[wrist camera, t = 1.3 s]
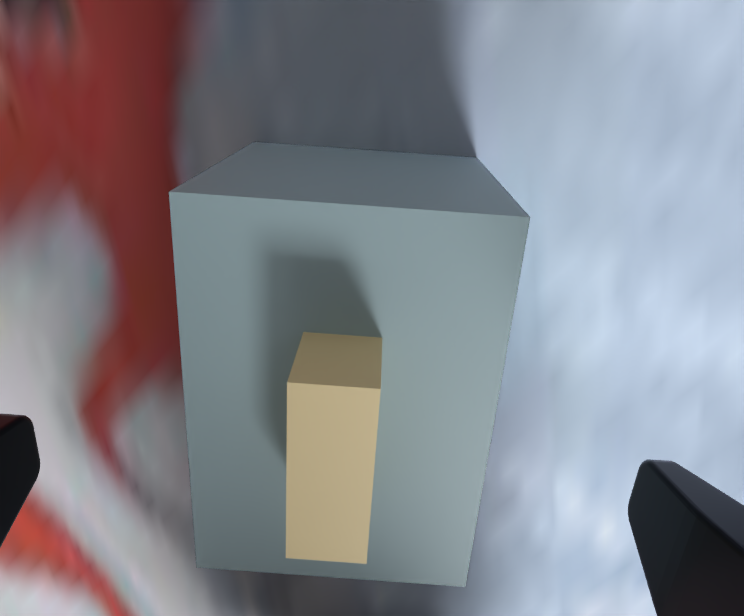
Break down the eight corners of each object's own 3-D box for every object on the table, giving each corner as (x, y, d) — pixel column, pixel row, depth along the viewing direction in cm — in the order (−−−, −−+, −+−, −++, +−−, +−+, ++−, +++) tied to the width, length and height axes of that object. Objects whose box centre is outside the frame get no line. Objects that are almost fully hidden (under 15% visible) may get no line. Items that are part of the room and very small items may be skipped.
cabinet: (441, 418, 16) (476, 664, 9) (258, 405, 16) (168, 641, 9) (476, 156, 13) (559, 249, 7) (254, 141, 13) (122, 218, 7)
